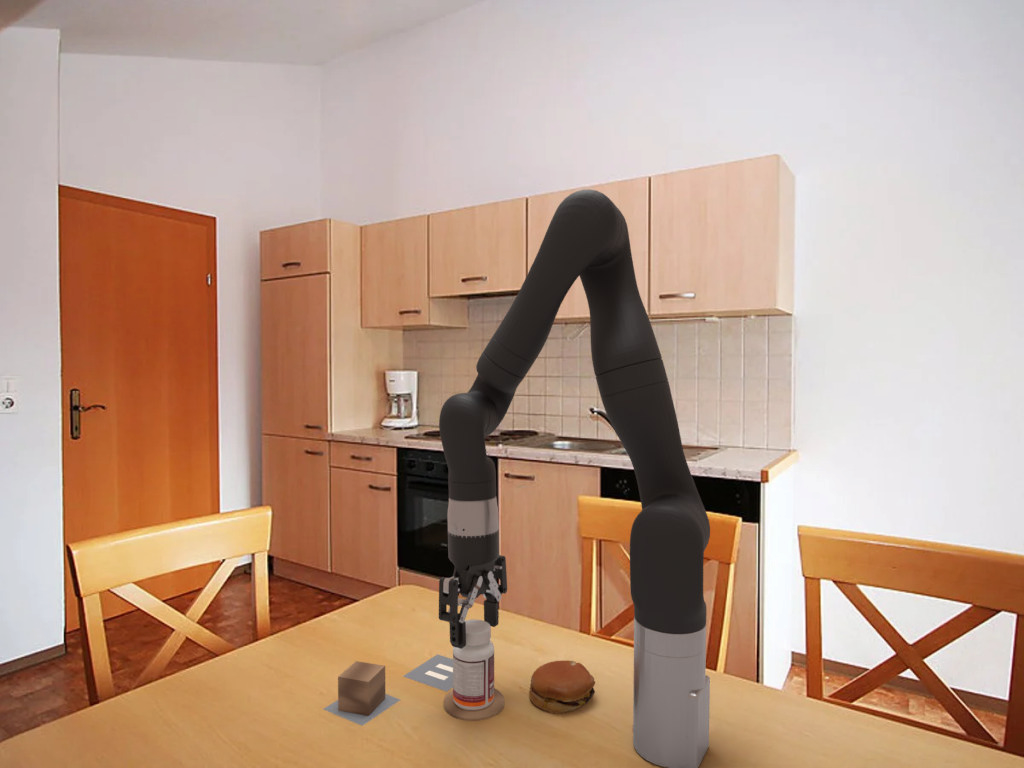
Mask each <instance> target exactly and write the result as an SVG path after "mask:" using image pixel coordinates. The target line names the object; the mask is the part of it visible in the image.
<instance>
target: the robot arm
mask: <svg viewBox="0 0 1024 768" xmlns="http://www.w3.org/2000/svg"><path fill="white" fill-rule="evenodd" d="M634 266H635V265H634V261H633V255H632V248H631V241H630V235H629V227H628V224H627V221H626V218H625V216H624V214H623V213H622V211H621V210H620V209H619V208H618V207H617V206H616V205H615V203H614V202H613V200H611V199H610V197H608V196H607V195H605V194H604V193H603V192H601V191H598V190H595V189H579V190H577V191H574V192H572V193H571V194H569V195H568V196H566V197H565V198H564V199H563V200H562V201H561V202H560V203H559V205H558V206H557V208H556V210H555V211H554V214H553V216H552V218H551V220H550V222H549V224H548V227H547V230H546V232H545V235H544V237H543V239H542V242H541V245H539V249H538V251H537V253H536V256H535V258H534V261H533V263H532V264H531V266H530V269H528V272H527V274H526V277H525V280H524V281H523V283H522V285H521V287H520V289H519V290H518V292H517V295H516V297H515V299H514V300H513V302H512V304H511V306H510V308H509V309H508V311H507V312H506V314H505V316H504V317H503V319H502V320H501V322H500V323H499V326H498V327H497V328H496V330H495V332H494V334H493V335H492V337H491V338H490V340H489V341H488V343H487V345H486V346H485V348H484V350H483V351H482V352H481V354H480V356H479V358H478V360H477V363H476V366H475V367H476V372H477V376H476V377H475V379H474V381H473V384H472V386H471V387H470V388H469V390H468V391H467V392H461V393H457V394H454V395H452V396H449V397H448V398H447V399H446V400H445V401H444V403H443V404H442V407H441V409H440V413H439V417H438V418H439V420H438V427H439V428H438V429H439V436H440V441H441V446H442V450H443V454H444V459H445V461H446V465H447V468H448V477H447V478H448V479H447V480H448V481H447V482H448V507H447V549H448V552H447V553H448V556H447V557H448V559H449V561H450V562H451V563H452V564H453V566H454V570H453V574H452V576H451V577H445V576H441V577H440V578H439V581H438V619H439V620H440V621H444V622H447V623H448V624H449V642H450V645H451V646H452V647H457V648H460V649H462V648H463V647H465V646H466V622H465V621H466V618H467V615H468V613H469V612H468V611H469V609H471V608H473V606H474V603H475V601H476V599H477V598H479V597H480V596H481V595H482V596H483V598H484V599H485V600H483V618H484V619H483V621H486V622H488V623H489V624H490V626H491V627H493V628H496V627H497V626H498V625H499V618H500V617H499V613H500V612H499V602H500V601H501V599H502V595H505V594H506V593H507V592H508V579H507V578H508V577H507V576H508V575H507V561H506V560H507V558H506V556H505V555H500V532H499V531H500V527H499V506H498V499H497V470H496V464H495V463H494V462H495V461H493V459H492V458H491V457H489V456H488V454H487V448H486V438H485V437H488V436H490V435H491V434H492V433H494V432H495V431H496V430H497V429H498V427H499V426H500V424H501V423H502V421H503V420H504V418H505V416H506V414H507V412H508V410H509V409H510V406H511V404H512V401H513V399H514V397H515V394H516V392H517V389H518V387H519V386H520V384H521V383H522V382H523V380H524V378H525V377H526V376H527V375H528V373H529V371H530V370H531V368H532V366H533V365H534V363H535V362H536V360H537V358H538V357H539V356H540V354H541V352H542V350H543V349H544V346H545V344H546V342H547V340H548V338H549V335H550V333H551V330H552V328H553V325H554V322H555V319H556V317H557V315H558V312H559V309H560V308H561V305H562V304H563V301H564V300H565V298H566V296H567V294H568V292H569V291H570V290H571V288H572V286H573V284H574V283H575V282H576V280H577V279H578V278H580V281H581V284H582V287H583V291H584V294H585V297H586V300H587V305H588V312H589V322H590V329H589V331H590V351H591V363H592V367H593V371H594V372H593V373H594V376H595V380H596V384H597V388H598V391H599V395H600V398H601V402H602V405H603V408H604V410H605V413H606V416H607V418H608V420H609V422H610V425H611V426H612V428H613V430H614V432H615V434H616V435H617V437H618V439H619V441H620V443H621V445H622V446H623V448H624V449H625V452H626V453H627V455H628V457H629V459H630V462H631V465H632V467H633V471H634V475H635V478H636V483H637V487H638V492H639V493H638V494H639V498H640V499H639V500H640V503H641V504H640V505H641V511H640V512H639V513H638V514H637V516H635V519H634V520H633V522H632V525H631V529H630V536H629V582H630V583H629V584H630V585H629V586H630V587H629V588H630V589H629V590H630V597H631V601H632V603H633V609H634V610H633V612H634V613H633V615H634V616H633V695H632V696H633V698H632V700H633V702H632V704H633V705H632V707H633V708H632V709H633V710H632V711H633V715H632V719H633V721H632V744H633V748H634V750H635V751H636V753H637V754H638V755H639V756H640V757H641V758H643V759H644V760H646V761H647V762H650V763H652V764H653V765H657V766H660V767H663V768H699V767H700V764H701V763H702V761H703V759H704V757H705V755H706V753H707V751H708V748H709V746H710V702H711V701H710V699H711V698H710V697H711V695H710V694H711V693H710V692H711V686H710V685H711V677H710V676H709V675H707V674H706V671H707V669H706V667H707V666H706V665H707V664H706V658H707V656H706V655H707V653H706V652H707V603H706V601H705V597H704V596H705V595H704V559H705V557H704V555H705V550H706V548H707V546H708V544H709V541H710V538H711V525H710V520H709V517H708V514H707V511H706V508H705V506H704V504H703V501H702V499H701V496H700V494H699V491H698V488H697V486H696V483H695V481H694V478H693V475H692V473H691V470H690V467H689V465H688V462H687V459H686V456H685V453H684V448H683V444H682V438H681V437H682V436H681V432H680V428H679V422H678V417H677V413H676V409H675V408H676V407H675V404H674V400H673V397H672V391H671V388H670V382H669V379H668V375H667V372H666V368H665V364H664V360H663V359H662V358H663V357H662V354H661V351H660V348H659V345H658V341H657V338H656V335H655V332H654V329H653V326H652V324H651V323H652V322H651V321H650V318H649V316H648V313H647V310H646V308H645V305H644V303H643V300H642V297H641V294H640V291H639V287H638V283H637V278H636V271H635V267H634ZM497 579H499V582H500V583H497ZM459 596H462V598H460V597H459ZM464 598H465V599H464ZM459 606H461V608H460V610H459V608H458V607H459ZM447 607H449V608H448V610H447ZM458 610H459V611H458Z"/></svg>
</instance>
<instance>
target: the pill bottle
mask: <svg viewBox="0 0 1024 768" xmlns="http://www.w3.org/2000/svg"><path fill="white" fill-rule="evenodd" d="M465 622H466V646H465V647H463V648H462V649H460V648H457V647H453V646H452V647H453V648H452V659H453V688H452V690H453V700H454V703H455V704H456V705H457V706H458V707H460V708H462V709H464V710H480V709H483V708H486V707H488V706H489V705H490V704H491V703H492V702H493V700H494V688H495V646H494V643H493V642H492V641H491V638H492V634H491V633H492V632H491V631H492V628H491V627H492V626H490V624H489V623H488V622H486V621H484V619H483V620H482V619H476V618H475V619H465Z"/></svg>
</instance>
